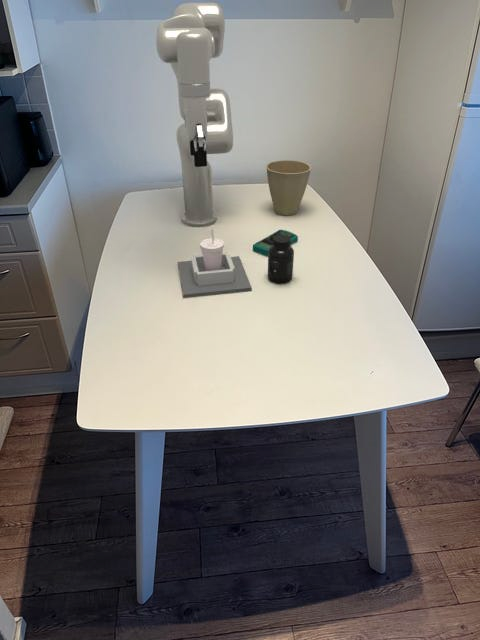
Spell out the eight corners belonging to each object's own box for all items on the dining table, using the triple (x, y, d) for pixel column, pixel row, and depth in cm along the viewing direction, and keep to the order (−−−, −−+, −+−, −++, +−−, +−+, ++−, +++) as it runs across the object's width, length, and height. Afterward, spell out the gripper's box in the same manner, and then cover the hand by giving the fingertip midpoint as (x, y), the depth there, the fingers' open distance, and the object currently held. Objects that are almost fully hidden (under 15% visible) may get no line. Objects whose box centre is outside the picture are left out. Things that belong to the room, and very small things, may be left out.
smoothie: (207, 283, 131) (204, 235, 123) (198, 272, 135) (195, 225, 127) (228, 277, 133) (228, 230, 125) (219, 267, 138) (217, 221, 130)
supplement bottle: (262, 278, 135) (263, 238, 128) (278, 269, 139) (279, 230, 132) (281, 287, 131) (283, 246, 124) (297, 277, 135) (300, 238, 128)
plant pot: (309, 219, 167) (313, 173, 158) (265, 219, 167) (267, 173, 158) (305, 203, 179) (308, 159, 170) (264, 203, 179) (265, 159, 170)
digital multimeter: (299, 242, 154) (299, 233, 152) (271, 259, 145) (271, 250, 143) (280, 235, 158) (280, 227, 156) (251, 252, 148) (251, 243, 147)
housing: (177, 264, 141) (176, 250, 138) (239, 259, 144) (238, 245, 141) (183, 297, 127) (182, 282, 124) (251, 290, 129) (251, 276, 127)
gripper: (176, 84, 126) (181, 152, 136) (182, 97, 112) (187, 172, 122) (205, 83, 127) (208, 150, 137) (215, 96, 113) (217, 170, 123)
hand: (198, 160), depth 129 cm, fingers open, 9 cm apart
